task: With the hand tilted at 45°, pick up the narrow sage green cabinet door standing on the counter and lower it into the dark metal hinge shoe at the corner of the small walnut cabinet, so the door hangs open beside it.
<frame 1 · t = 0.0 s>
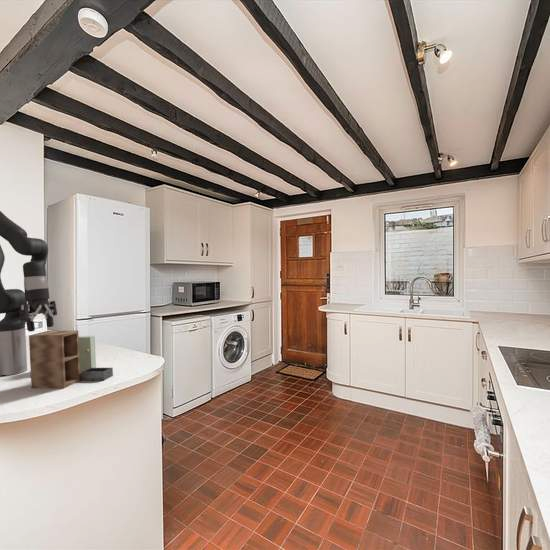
hand: (41, 329, 121), 17 cm above the countertop, tool pointing down, fingers open, 8 cm apart
door: (86, 372, 119), on the countertop
hinge shoe: (97, 377, 112), on the countertop
cabinet: (56, 384, 108), on the countertop
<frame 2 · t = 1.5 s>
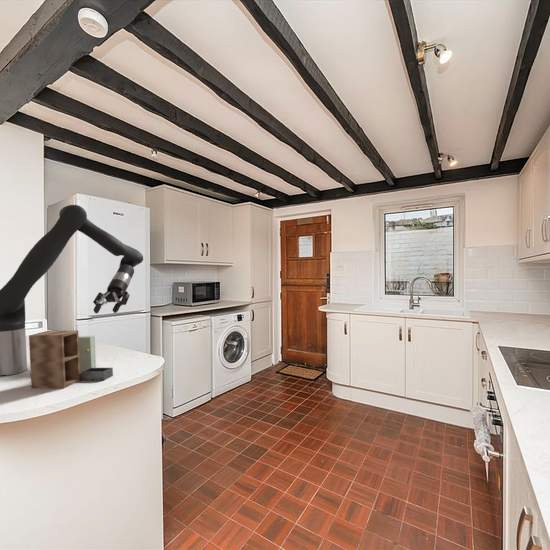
hand: (104, 312, 131), 22 cm above the countertop, tool tilted 45°, fingers open, 8 cm apart
nothing on the countertop moved.
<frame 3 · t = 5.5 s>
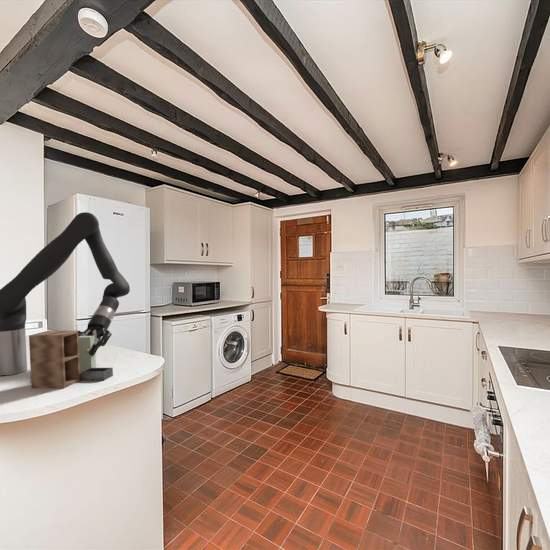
hand: (82, 354, 118), 7 cm above the countertop, tool tilted 45°, fingers closed on door, 6 cm apart
door: (86, 372, 119), on the countertop, touching gripper
everything else where it was.
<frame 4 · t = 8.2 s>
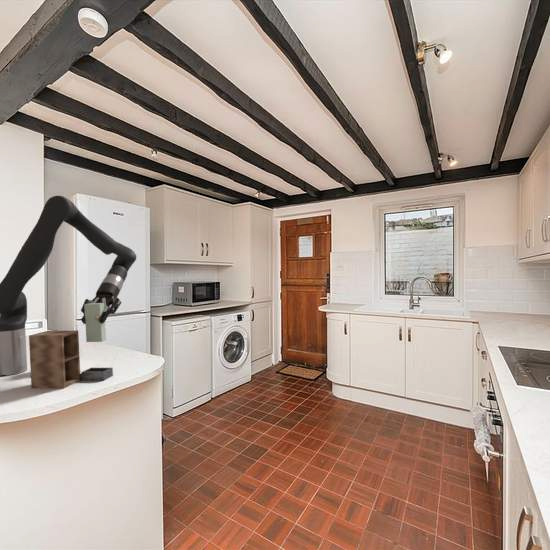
hand: (92, 322, 112), 20 cm above the countertop, tool tilted 45°, fingers closed on door, 6 cm apart
door: (96, 341, 114), point 13 cm above the countertop, touching gripper
everything else where it was.
when the fingers open (9 cm above the countertop, at t = 11.1 s): door drops 1 cm, resting in hinge shoe.
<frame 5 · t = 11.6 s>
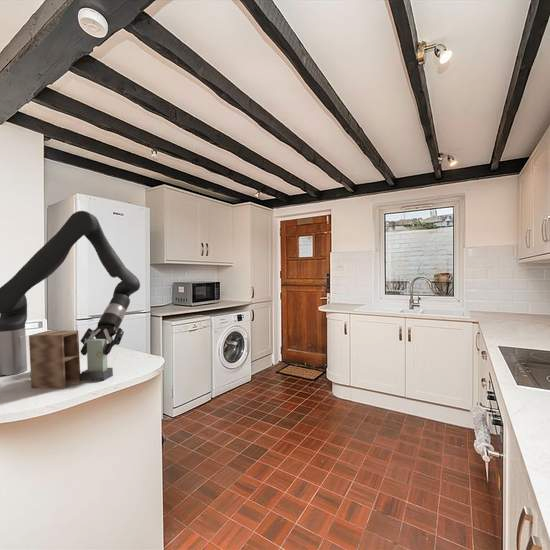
hand: (93, 354, 111), 9 cm above the countertop, tool tilted 45°, fingers open, 8 cm apart
door: (97, 377, 113), resting in hinge shoe
everything else where it was.
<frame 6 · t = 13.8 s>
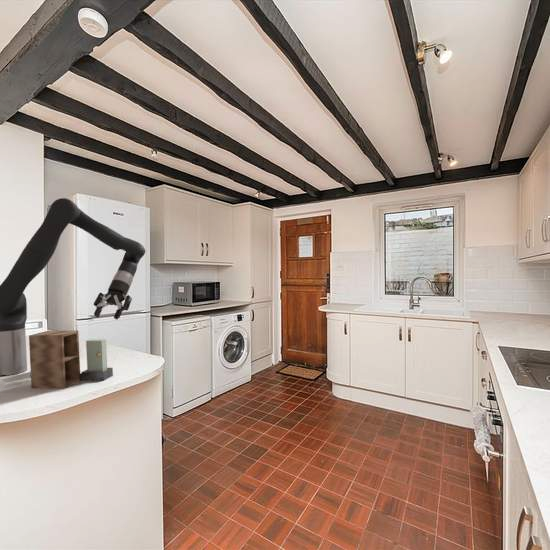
hand: (105, 317, 125), 20 cm above the countertop, tool tilted 35°, fingers open, 8 cm apart
nothing on the countertop moved.
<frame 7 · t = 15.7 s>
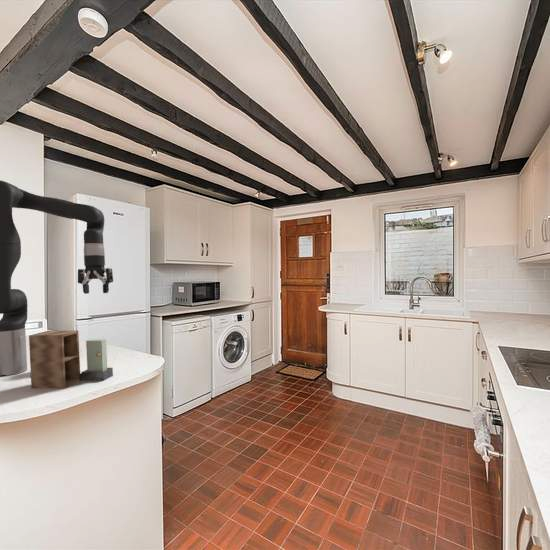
hand: (96, 293, 129), 30 cm above the countertop, tool pointing down, fingers open, 8 cm apart
nothing on the countertop moved.
at the end: door 0.2 cm off-centre on the hinge shoe, point 0.0 cm above the hinge shoe's base; door tilted 0°; the gripper is holding nothing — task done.
